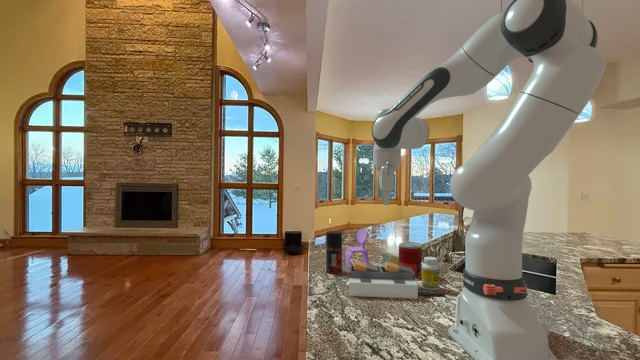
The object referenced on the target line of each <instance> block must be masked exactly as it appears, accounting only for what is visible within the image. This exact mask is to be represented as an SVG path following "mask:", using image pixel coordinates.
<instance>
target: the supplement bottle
mask: <svg viewBox="0 0 640 360" xmlns="http://www.w3.org/2000/svg"><path fill="white" fill-rule="evenodd" d="M423 262H424V263H423V264H421V287H422V288H423V289H424V290H427V291H437V290H438V291H439V290H440V266H439V265H438V258H437V257H434V256H425V257H423Z"/></svg>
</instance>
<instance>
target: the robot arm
mask: <svg viewBox="0 0 640 360" xmlns="http://www.w3.org/2000/svg"><path fill="white" fill-rule="evenodd" d="M598 39H599V37H598V32H597V28H596V26H595V25H594V23H593V22H592V21H591V20H590V19H588V17H587V16H586V15H585V14H584V13H583V10H582V9H581V8H580V7H579V6H578V5H577V4H576V3H574V2H573V1H572V0H512V1H511V2H510V3H509V5H508V6H507V8H506V9H505V11H504V12H499V13H497V14H495V15H493V17H492V18H489V20H487V21H486V22H485V23H484V24H482V25H481V27H479V28H478V29H477V30H476V31H475V32H474V33H473V34H472V35H471V36H470V37H469V38H468V39H467V40H466V41H465V42H464V43H463V44H462V46H461V47H460V48H459V49H458V50H457V51H456V52H454V54H453V55H451V57H450V58H448V59H447V60H446V61H444V63H442V64H441V65H439V66H438V67H435V69H433V70H432V71H430V72H428V73H427V74H426V75H425V76H423V77H422V78H421V79H420V80H419V81H418V82H417V83H416V84H415V85H413V86H412V88H411V89H409V90H408V91H407V92H406V93H405V94H404V95H403V96H402V97H401V98H400V99H399V100H398V101H397V102H396V103H394V104H393V105H392V107H390V108H385V109H382V110H380V111H378V112H377V113H376V115H375V117H374V122H373V123H372V126H371V137H372V139H373V142H374V147H373V150H372V167H376V172H378V173H377V174H378V183H379V188H380V190H381V194H382V195H381V197H382V204H383V206H390V200H391V192H392V191H394V189H395V172H397V167H401V165H402V150H418V149H421V148H422V147H424V146H425V145H426V144H427V142H428V140H429V137H430V128H429V127H430V126H429V125H428V122H427V121H426V120H424V119H421V117H420V118H419V117H417V116H418V115H420V114H421V113H422V112H423V111H424V110H425V109H426V108H428V107H429V106H430V105H431V104H433V103H436V102H438V101H441V100H442V99H443V100H444V99H448V98H453V97H454V98H455V97H463V96H469V95H473V94H476V93H477V92H478V91H480V90H482V89H484V87H486V86H487V85H488V84H489V83H490V82H491V83H492V81H493V79H495V78H496V77H497V76H498V75H499V74H500V73H501V72H502V71H503V70H504V69H505V68H506V67H507V66H508V65H509V64H511V63H512V62H513V61H515V60H517V59H520V58H525V59H526V58H527V59H528V61H529V62H530V63H532V64H533V69H532V73H531V75H530V77H529V78H528V80H527V82H526V83H525V85H524V87H523V88H522V89H521V91H520V92H519V94H518V96H517V97H516V99H515V100H514V101H513V103H512V104H511V107H509V110H507V113H506V114H505V115H504V117H503V119H502V120H501V121H500V123H499V124H498V126H497V127H496V129H495V130H494V131H493V132H492V134H491V135H490V136H489V137H488V138H487V139H486V140H485V141H484V142H483V144H481V145H480V146H479V148H478V149H477V150H476V151H475V152H474V154H473V155H472V156H471V157H469V159H468V160H467V161H466V162H465V163H463V164H462V165H460V166H459V167H458V168H457V169H455V170H454V172H453V173H452V175H451V177H450V179H449V180H450V181H449V192H450V194H451V196H452V198H453V200H454V201H455V202H456V203H457V204H459V205H460V206H461V207H463V208H465V209H467V210H471V211H473V213H472V217H471V221H470V225H469V227H468V229H467V231H466V234H465V240H464V241H465V242H464V245H465V246H464V247H465V248H464V249H465V250H464V251H465V253H464V256H465V258H464V259H465V260H464V262H465V264H464V265H465V267H464V268H463V270H462V271H463V272H462V285H463V288H462V290H461V291H460V293H459V294H458V295H457V296H456V299H455V300H456V302H455V317H454V325H451V326H450V327H448V330H447V333H448V334H449V336H450V337H451V338H452V339H453V340H454V341H455V342H456V343H457V344H458V345H460V347H461V348H463V349H464V350H465V352H466V353H468V355H470V356H471V357H472V358H473V359H474V360H559V359H557V356H555V354H554V353H553V351H552V350H551V349H550V346H549V338H548V337H549V336H550V332H551V331H550V330H551V329H550V327H549V325H548V323H545V322H544V323H543V322H541V321H540V319H539V317H538V314H537V310H535V309H533V307H532V306H531V304H530V302H529V300H528V295H529V294H528V291H527V290H528V287H527V283H526V281H525V277H524V275H523V237H524V229H525V225H526V220H527V214H528V208H529V207H528V206H529V199H530V194H531V191H532V179H531V177H530V174H531V173H532V172H533V171H534V170H535V169H536V168H537V167H538V166H540V165H539V164H541V163H542V162H543V161H544V160H545V159H546V158H547V157H548V156H549V155H550V154H552V153H553V152H554V150H555V149H556V148H557V146H558V145H559V144H560V142H561V141H562V140H563V138H564V137H565V135H567V133H568V131H569V130H570V129H571V127H572V126H573V124H574V123H575V122H576V120H577V119H578V118H579V116H580V115H581V113H582V112H583V111H584V109H585V108H586V106H587V105H588V103H589V101H590V100H591V98H592V97H593V95H594V93H595V92H596V90H597V88H598V86H599V84H600V82H601V80H602V78H603V75H604V74H605V72H606V69H607V59H606V57H605V55H604V54H603V53H602V52H601V51H600V50H598V49H597V45H598Z"/></svg>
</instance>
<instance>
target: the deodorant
mask: <svg viewBox="0 0 640 360" xmlns="http://www.w3.org/2000/svg"><path fill="white" fill-rule="evenodd" d="M325 237H326V238H325V249H326V250H325V253H326V254H325V263H326V264H325V273H326V274H329V275H340V274H342V273H343V232H342V231H340V230H330V231H326V233H325Z"/></svg>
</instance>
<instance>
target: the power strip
mask: <svg viewBox="0 0 640 360" xmlns="http://www.w3.org/2000/svg"><path fill="white" fill-rule="evenodd" d="M377 267H378V270H379V272H365V271H357V270H354V265H351V266H350V268H348V269H349V271H348V273H349V274H348V277H349V279H348V287H349V288H348V296H349V297H368V298H370V297H371V298H391V299H392V298H395V299H413V300H414V299H416V300H417V299H419V297H418V296H432V297H444V296H445V295H446V294H445V292H440V291H439V292H438V291H437V292H435V291H419V290H418V289H419V287H418V286H419V285H418V282H417V281H416V280H415V279H416V277H415V273H414V272H413V270H412V269H411V267H408V268H409V269H410V271H411V273H397V272H389V271H386V270H385V267H384V266H379V265H378V266H377Z"/></svg>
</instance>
